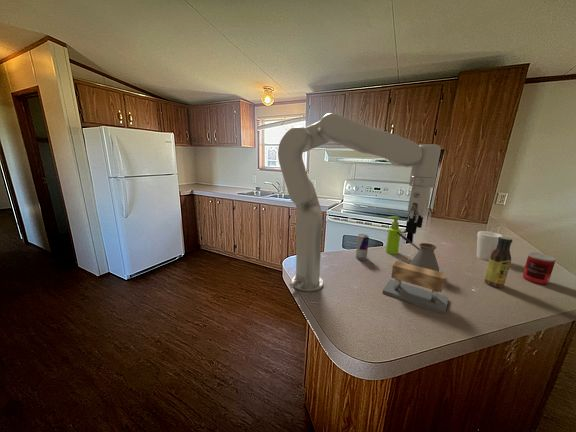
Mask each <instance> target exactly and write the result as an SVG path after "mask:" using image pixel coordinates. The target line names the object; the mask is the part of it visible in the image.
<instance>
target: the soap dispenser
mask: <svg viewBox="0 0 576 432" xmlns="http://www.w3.org/2000/svg"><path fill="white" fill-rule="evenodd" d="M387 218H388V219H390V220H391V219H393V222H391V227H389V228H388V233H387V240H386V249H385V253H387V254H389V255H398V253H399V246H400V240H401V239H400V238H401V236H400V235H399V234H397V233H396V232H399V233H400V234H402V233H401V231H402V230H401V229H400V228H399V225H400V224H399V222H398V220H399V219H400V216H398V215H397V216H395V215H393V216H392V215H391V216H388V217H387ZM395 233H396V234H397V235H396V234H395Z"/></svg>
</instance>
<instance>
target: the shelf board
mask: <svg viewBox="0 0 576 432" xmlns="http://www.w3.org/2000/svg"><path fill="white" fill-rule="evenodd" d="M390 277H391V279H398V280H401V282H405V283H409V284H410V285H411V284H412V285H415V286H418V287H422V288H425V289H429V290H431V291H432V290H435V291H438V293H442V292H443V287H444V283H445V282H444V281H445V277H446V272H441V271H440V270H439V271H435V270H431V269H427V268H423V267H419V266H415V265H411V264H410V263H406V262H402V261H398V260H396V261H395V262H394V263H393V265H392V269H391V276H390Z"/></svg>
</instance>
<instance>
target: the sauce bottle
mask: <svg viewBox="0 0 576 432" xmlns="http://www.w3.org/2000/svg"><path fill="white" fill-rule="evenodd" d="M512 243H513V238H511V237H508V236H507V237H506V236H503V237H499V238H498V245H497V248H496V249H494V250H493V251H492V253H491V257H490V259H489V260H488V264H487V268H486V270H485V271H486V272H485V275H484V283H486V284H487V285H488V286H491V287H495V288H503V287H505V284H506V280H507V277H508V273H509V270H510V266H511V261H512V255H511V250H510V249H511V245H512Z"/></svg>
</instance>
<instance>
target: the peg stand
mask: <svg viewBox="0 0 576 432" xmlns="http://www.w3.org/2000/svg"><path fill="white" fill-rule="evenodd" d="M382 294H384V295H388V296H390V297H394V298H397V299H399V300H402V301H405V302H408V303H411V304H414V305H417V306H420V307H423V308H425V309H428V310H432V311H434V312H437V313H441V314H443V315H446V312H447V307H448V301H449V297H448V296H445V295H442V294H439V292H438V291H435V290H432V289H431V291H429V290H426V289H424V288H419V287H417V286H412V285H411V284H410V285H409V284H407V283H403V282H402V281H401V280H398V279H395V280H392V279H389V280H388V281H387V283H386V284H385V285H384V288H383V289H382Z"/></svg>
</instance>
